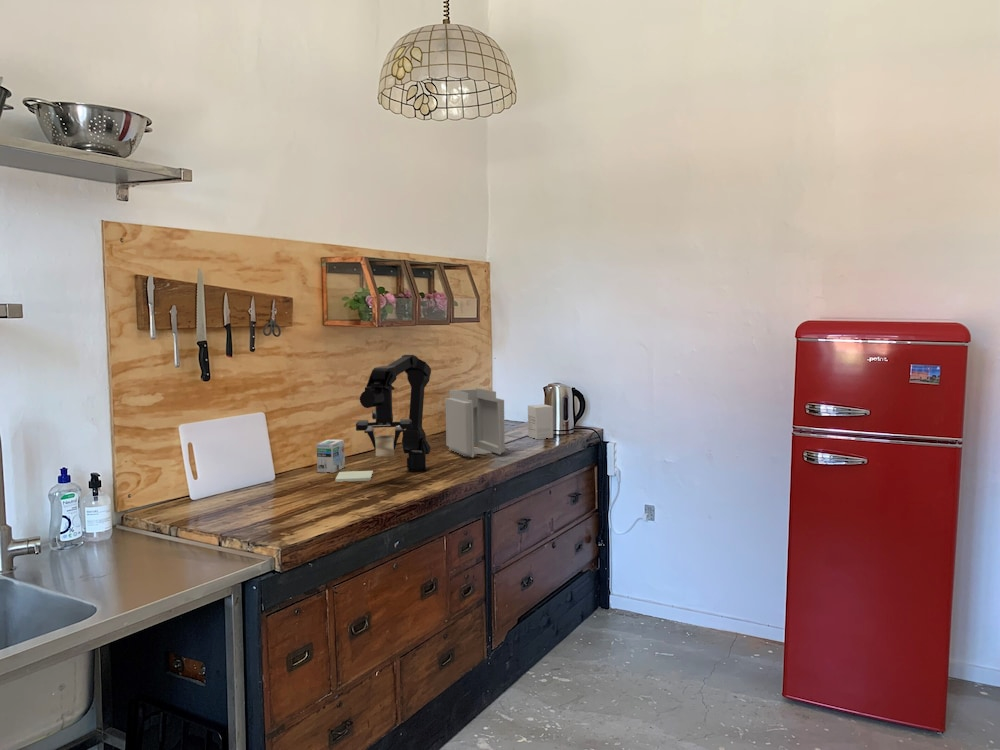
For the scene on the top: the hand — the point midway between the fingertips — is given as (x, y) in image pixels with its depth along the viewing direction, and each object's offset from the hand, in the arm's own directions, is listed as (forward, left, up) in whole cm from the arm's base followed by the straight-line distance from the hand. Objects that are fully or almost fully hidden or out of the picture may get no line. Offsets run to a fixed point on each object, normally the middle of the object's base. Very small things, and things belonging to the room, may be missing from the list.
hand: (384, 449), depth 251 cm
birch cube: (0, 0, -2) cm, 2 cm away
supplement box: (-66, -83, -12) cm, 107 cm away
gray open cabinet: (-33, -49, -12) cm, 60 cm away
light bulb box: (+22, -25, -12) cm, 35 cm away
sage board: (+12, -10, -11) cm, 19 cm away
